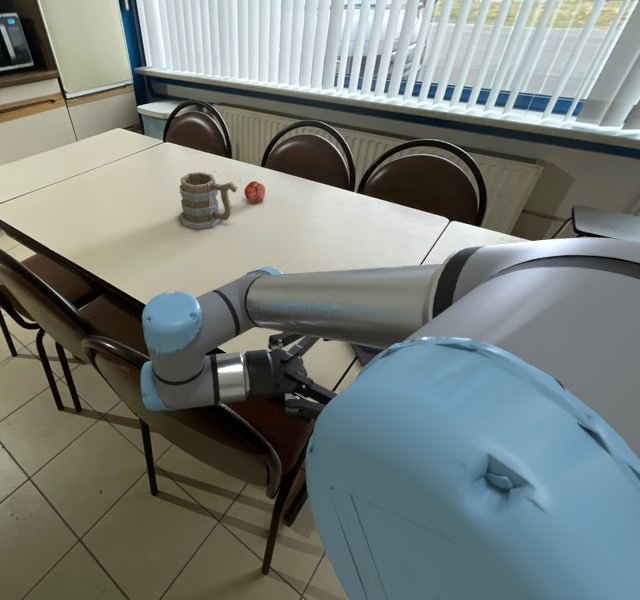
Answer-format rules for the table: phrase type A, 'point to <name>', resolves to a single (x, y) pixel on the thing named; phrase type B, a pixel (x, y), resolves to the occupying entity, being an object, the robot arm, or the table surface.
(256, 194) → the pomegranate
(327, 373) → the table surface
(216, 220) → the tankard
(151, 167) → the table surface
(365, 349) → the panel
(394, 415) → the robot arm
